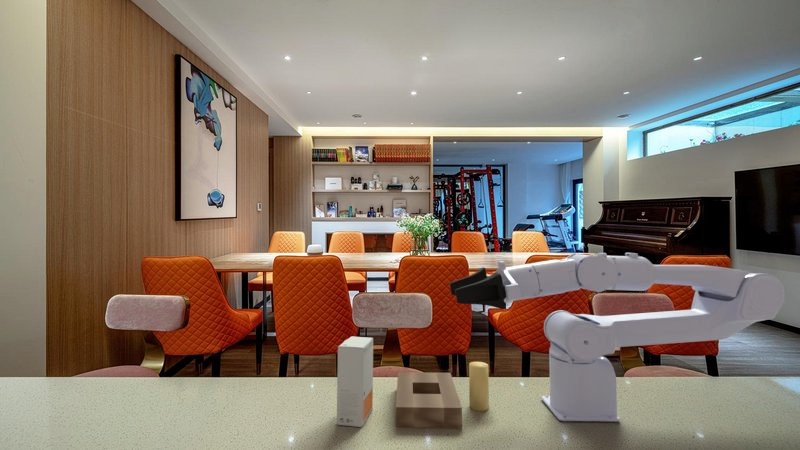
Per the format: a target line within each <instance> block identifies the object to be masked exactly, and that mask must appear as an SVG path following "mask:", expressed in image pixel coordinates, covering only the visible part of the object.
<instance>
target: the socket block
mask: <svg viewBox="0 0 800 450" xmlns="http://www.w3.org/2000/svg"><path fill="white" fill-rule="evenodd" d="M396 381H397V382H396V383H397V384H396V398H395V399H396V400H395V428H411V429H412V428H414V429H417V428H421V429H422V428H424V429H425V428H426V429H428V428H431V429H433V428H435V429H437V428H438V429H446V428H447V429H462V428H463V407H462V404H461V400H460V398H459V395H458V393H457V389H456V386H455V382H454V380H453V377H452V374H451V372H417V371H416V372H410V371H409V372H407V371H406V372H403V371H402V372H397V380H396Z"/></svg>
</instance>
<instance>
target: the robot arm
mask: <svg viewBox="0 0 800 450" xmlns="http://www.w3.org/2000/svg"><path fill="white" fill-rule="evenodd" d="M654 284H655V285H656V284H657V285H658V284H659V285H672V286H673V285H674V286H687V287H688V286H690V287H691V289H692V290H693V291H694V295H693V300H692V303H691V307H690V309H681V310H679V309H678V310H669V311H666V310H665V311H655V312H643V313H642V312H641V313H627V314H625V313H624V314H615V315H593V314H586V313H580V314H579V313H577V314H576V313H572V312H569V311H567V310H564V309H563V310H562V309H561V310H556V311H553V312H551V313H550V314H548V315H547V316H546V318H545V320H544V322H543V331H544V335H545V337H546V339H547V340H548V341H549V342H550V346H549V349H548V351H549V355H548V356H549V357H548V358H549V360H548V362H549V395H541V396H540V399H541V401H542V402H543V403H544V404H545V405H546V406H547V407H548V409H550V411H551V412H552V414H553V415H554V416H555V417H556V418H557V419H558V420H559V421H561V422H620V421H621V418H620V417H619V416H618V405H617V403H618V401H617V398H618V397H617V395H618V394H617V393H618V392H617V376H616V372H615V370H614V369H615V368H614V367H613V364H612V363H611V361H610V360H609V359H608V358H607V357H606V355H614V354H615V351H616V348H621V347H623V348H624V347H637V346H650V345H651V346H652V345H653V346H654V345H666V344H678V343H695V342H708V341H721V340H727V339H728V338H730V337H732V336H734V335H736V334H737V333H739V332H741V331H742V330H744V329H746V328H747V327H749V326H751V325H753V324H754V323H756V322H757V323H758V322H762V321H766V320H767V321H768V320H773V319H775V318H776V315H778V312H779V311H780V309H781V307H782V306H783V304H784V301H785V298H786V294H785V293H786V291H785V288H784V286H783V284H782V282H781V281H780V280H779V279H778V278H777V277H776V276H774V275H771V274H769V273H764V272H763V273H761V272H760V273H759V272H758V273H753V272H751V271H748V270H741V269H736V268H730V267H722V266H716V265H715V266H714V265H704V264H653V263H652V262H651V261H650V260H649V259H648V258H646V257H643V256H639V254H638V252H637V253H635V252H625V253H624V255H607V253H606V252H597V253H596V255H591V254H580V253H579V254H576V253H572V254H570V255H567V257H565V258H561V259H549V260H543V261H536V262H531V263H523V264H519V265H513V266H512V265H511V266H506V263H505V261H504V260H499V261H498V260H497V269H496V270H495V271H494V272H493V273H492V274H487V269H486V267H481V268H479V269H478V270H477V271H475V272H474V273H472V274H470V275H468V276H464V277H463V278H460V279H456V280H454V281H452V282H449V288H450V289H449V290H450V295H451V296H455V298H456V303H457V304H462V305H480V306H481V305H483V306H489V307H494V308H497V309H498V310H499V309H500V310H505V308H506V306H505V305H506V304H509V303H512V302H516V301H520V300H521V301H522V300H527V299H528V300H529V299H533V298H539V297H545V296H553V295H558V294H564V293H566V292H574V291H579V290H581V289H583V290H587V291H591V292H596V293H601V292H604V291H606V290H607V291H608V290H609V291H611V290H613V291H636V292H637V291H639V292H642V291H643V292H645V291H647V290H649V289H650V288H652V286H653V285H654Z"/></svg>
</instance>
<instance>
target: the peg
mask: <svg viewBox="0 0 800 450" xmlns="http://www.w3.org/2000/svg"><path fill="white" fill-rule="evenodd" d="M468 374H469V375H468V376H469V377H468V378H469V382H468V383H469V386H468V387H469V393H468V394H469V398H468V399H469V400H468V402H469V408H470V409H472V410H473V411H477V412H486V411H488V410H489V408H490V404H489V402H490V401H489V396H490V395H489V393H490V392H489V382H490V381H489V364H488V363H486V362H483V361H470V362H469V364H468Z"/></svg>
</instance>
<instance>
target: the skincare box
mask: <svg viewBox="0 0 800 450" xmlns="http://www.w3.org/2000/svg"><path fill="white" fill-rule="evenodd" d="M336 376H337V380H336V381H337V382H336V383H337V384H336V385H337V389H336V425H339V426H345V427H346V426H348V427H357V428H362V427H363V426H364V424H365V422H366V420H367V418H368V417H369V415H370V414H371V412H372V411H373V403H374V402H373V396H374V394H373V392H374V389H373V388H374V384H373V383H374V337H366V336H365V337H364V336H354V335H353V336H350V337H349V338H347V339H345V340H344V341H343V342H342V343H341V344H340V345H338V346H337V375H336Z"/></svg>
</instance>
